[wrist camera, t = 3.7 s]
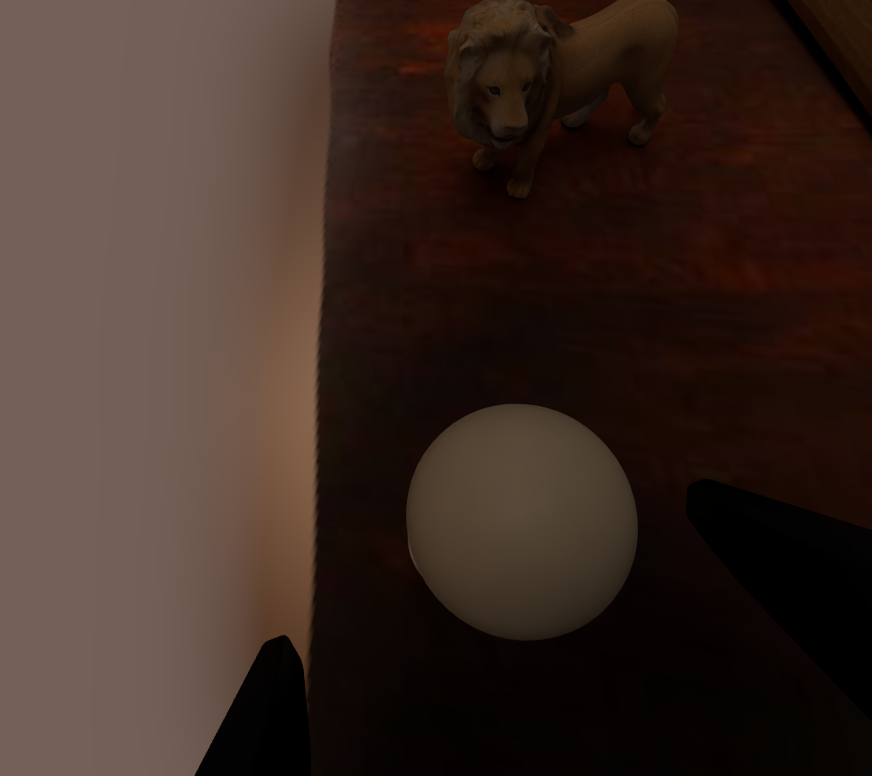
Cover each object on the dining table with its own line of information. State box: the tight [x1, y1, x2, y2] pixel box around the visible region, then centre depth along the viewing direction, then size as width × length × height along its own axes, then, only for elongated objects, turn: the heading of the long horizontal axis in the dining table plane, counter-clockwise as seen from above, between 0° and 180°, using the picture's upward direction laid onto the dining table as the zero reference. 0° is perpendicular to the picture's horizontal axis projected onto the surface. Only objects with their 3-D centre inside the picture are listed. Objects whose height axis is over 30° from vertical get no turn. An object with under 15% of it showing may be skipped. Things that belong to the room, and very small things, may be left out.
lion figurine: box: [443, 0, 679, 199], centre depth 20 cm, size 15×5×9 cm, turn 127°
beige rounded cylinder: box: [406, 404, 638, 641], centre depth 11 cm, size 4×4×13 cm
